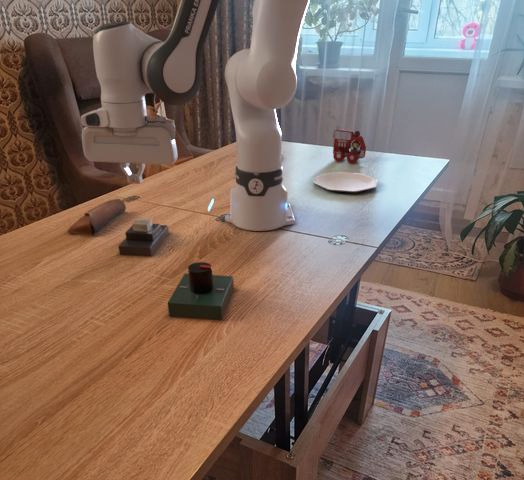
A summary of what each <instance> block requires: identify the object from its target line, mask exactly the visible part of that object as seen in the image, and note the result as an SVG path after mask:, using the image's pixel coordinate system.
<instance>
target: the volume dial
mask: <svg viewBox="0 0 524 480" xmlns="http://www.w3.org/2000/svg"><path fill="white" fill-rule="evenodd" d="M187 270H188V271H187V272H188V274H189V282H190V290H191V291H192V292H193V293H196V294H205V293H209V292H211V291H212V290H213V276H212V275H213V266H212V264H211V263H208V262H204V261H198V262H193V263H191V264H189V265H188V266H187Z"/></svg>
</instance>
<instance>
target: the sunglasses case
mask: <svg viewBox="0 0 524 480" xmlns="http://www.w3.org/2000/svg"><path fill="white" fill-rule="evenodd" d="M126 210H127V206H126V204H125V202H124V201H123V200H122V199H120V198H115V199H111V200H106V201H104V202H102V203H100V204H98V205H96V206H95V207H93V208H91V209H89V210H88V211H86V212H85V213H84V215H83V216H82V217H80V218H79V219H78V220H76V221H74V223H73V224H72V225H70V226H69V228H68V229H67V233H69V234H72V235H75V236H85V237H93V236H95V234H97V233H98V232H99V231H100V230H102V229H103V227H104V226H106V225H107V223H109V222H110V221H112V220H113V219H114V218H115V217H117V216H119V215H120V214H121V213H123V212H125V211H126Z"/></svg>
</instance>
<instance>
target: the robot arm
mask: <svg viewBox="0 0 524 480" xmlns="http://www.w3.org/2000/svg"><path fill="white" fill-rule="evenodd" d="M310 1H311V0H254V2H253V6H252V10H251V13H252V14H251V16H252V31H251V40H250V46H249V48H244V49H241V50H239V51H237V52H235V53H234V54H232V55H231V57H229V58H228V60H227V62H226V65H225V68H224V80H225V83H226V87H227V90H228V94H229V102H230V108H231V113H232V114H231V115H232V119H233V124H234V131H235V146H236V149H235V150H236V166H235V172H234V176H235V182H236V183H235V185H234V186H233V187H232V188H231V189H230V191H229V193H230V195H229V196H230V199H229V201H230V204H229V207H230V208H229V209H230V211H229V212H228V213H227V214H226V215H224V221H225V222H228V223H230V224H232V225H234V226H235V227H237V228H239V229H241V230H246V231H253V232H266V231H273V230H277V229H280V228H283V227H285V226H291V225H294V224H295V223H296V220H295V216H294V213H293V209H292V207H291V204H290V202H289V201H288V191H287V189H286V187H285V186H284V184H283V180H284V178H283V177H284V170H283V166H282V157H283V154H282V142H283V141H282V139H283V135H282V129H281V127H280V125H279V122H278V117H277V112H276V111H277V110H279V109H283V108H284V107H286V106H287V105H288V104H289V103H291V102H292V100H293V98H294V97H295V94H296V91H297V86H298V79H297V78H298V77H297V74H296V62H297V56H298V55H297V54H298V47H299V40H300V35H301V30H302V26H303V23H304V20H305V18H306V17H305V16H306V14H307V10H308V7H309V4H310ZM219 2H220V0H180V3H179V6H178V8H177V10H176V15H175V18H174V21H173V23H172V27H171V31H170V33H169V35H168V36H167V39H166V40H165V41H162V40H160V39H158V38H155V37H153V36H151V35H149V34H147V33H145V32H144V31H143V30H141V29H138V28H137V27H136V26H135V25H134V24H133V23H132V22H130V21H127V20H121V21H115V22H114V21H113V22H110V23H105V24H103V25H100V26H98V28H96V30H95V31H94V33H93V36H92V50H93V60H94V67H95V68H94V69H95V73H96V78H97V80H98V82H99V85H100V103H101V106H100V107H96V108H95V109H93V110H91V111H88V112H85V113H84V114H82V115H80V122H81V124H82V126H83V128H82V130H81V144H82V151H83V155H84V157H85V159H86V160H87V161H88V162H94V163H116V164H117V163H118V164H119V168H120V169H121V171H122V172H123V174H124V175H125V176H126V181H127V184H135V185H142V184H143V173H144V171H145V169H146V165H161V166H162V165H165V166H166V165H167V166H172V165H174V164H175V163H176V161H177V159H178V157H179V155H178V148H177V143H176V139H175V138H176V126H175V123H174V122H173V121H172V120H170V119H169V118H168V117H167V116H160V117H159V116H150V115H149V116H148V112H147V104H146V103H147V102H146V95H147V94H154V95H155V96H156V97H157V98H158V99H159V100H160V101H161V102H163V103H164V104H167V105H170V106H182V105H185V104H187V103H190V102H191V101H192V100H193V99H194V98H195V97H196V95H197V94H198V92H199V90H200V87H201V84H202V77H203V76H202V75H203V74H202V71H203V70H202V68H203V67H202V66H203V65H202V64H203V63H202V62H203V55H204V50H205V46H206V42H207V39H208V37H209V33H210V30H211V27H212V24H213V20H214V17H215V15H216V12H217V9H218V5H219ZM131 164H135V168H136V169H138V170H137V173H133V172H132V171H131V169H130V167H129V166H130V165H131ZM214 200H215V199H214V198H212V199H211V201H210V203H209V205H208V207H207V211H208V212H211V211H210V210H211V209H212V207H213V204H214V202H215V201H214Z"/></svg>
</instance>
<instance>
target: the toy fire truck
mask: <svg viewBox="0 0 524 480" xmlns="http://www.w3.org/2000/svg"><path fill="white" fill-rule="evenodd" d="M332 136H333V148H332V155H333V156H332V157H333V160H334V161H335V162H338V163H340V162H343V161H344V159H346V160H347V162H348V163H349V164H355V163H357V161H358V160H359V159H365V157H366V152H367V146H366V143H365V140H364V137H363V136H362V135H361V132H360V131H359V130H355V131H353V130H346V129H345V130H344V129H335V130H333V134H332Z"/></svg>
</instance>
